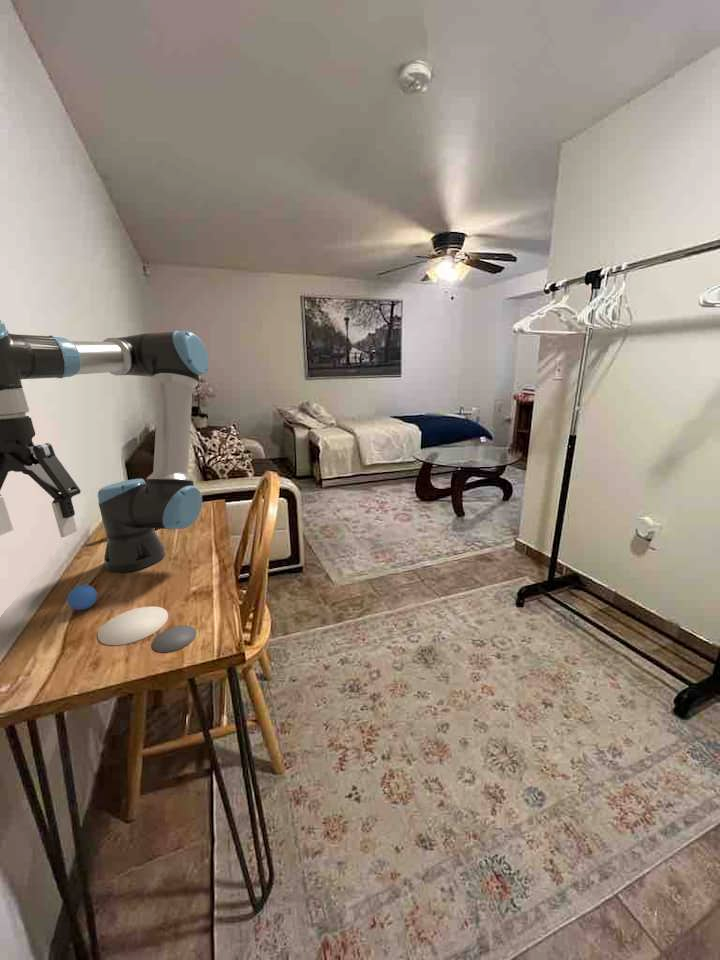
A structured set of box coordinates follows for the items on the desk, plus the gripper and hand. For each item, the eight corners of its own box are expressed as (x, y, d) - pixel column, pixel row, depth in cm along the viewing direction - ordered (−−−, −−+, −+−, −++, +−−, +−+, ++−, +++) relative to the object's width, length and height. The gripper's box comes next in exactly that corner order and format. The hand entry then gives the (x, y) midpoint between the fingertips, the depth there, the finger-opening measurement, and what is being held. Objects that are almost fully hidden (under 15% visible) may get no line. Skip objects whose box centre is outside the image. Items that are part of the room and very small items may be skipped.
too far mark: (163, 627, 81) (163, 626, 81) (202, 625, 81) (202, 624, 81) (144, 653, 73) (143, 652, 73) (187, 651, 74) (186, 650, 74)
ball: (80, 601, 92) (75, 580, 91) (104, 600, 92) (99, 579, 91) (64, 615, 87) (58, 593, 85) (89, 614, 87) (84, 592, 85)
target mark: (120, 608, 88) (120, 608, 88) (178, 605, 89) (178, 604, 89) (82, 647, 76) (82, 646, 76) (150, 643, 76) (150, 642, 76)
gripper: (-88, 422, 64) (-44, 541, 70) (46, 417, 60) (80, 543, 66) (-37, 416, 71) (-2, 524, 77) (85, 412, 67) (112, 526, 73)
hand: (36, 533), depth 71 cm, fingers open, 13 cm apart
